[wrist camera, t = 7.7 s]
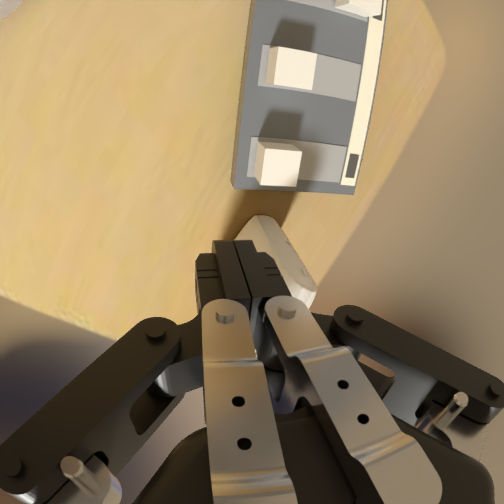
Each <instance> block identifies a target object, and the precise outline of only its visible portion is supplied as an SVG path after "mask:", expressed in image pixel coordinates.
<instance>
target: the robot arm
mask: <svg viewBox="0 0 504 504" xmlns="http://www.w3.org/2000/svg"><path fill="white" fill-rule="evenodd" d="M195 293H196V302H197V310H198V315H197V316H196V317H195V318H194V319H193V320H191V321H189V322H187V323H184V324H181V325H177V324H176V323H174V322H173V321H171V320H169V319H167V318H162V317H151V318H147V319H144V320H142V321H140V322H139V323H138V324H136V325H135V326H134V327H133V328H132V329H131V330H130V331H128V332H127V333H126V334H125V335H124V336H123V337H121V338H120V339H119V340H118V341H117V342H116V343H114V344H113V345H112V346H111V347H110V348H109V349H108V350H107V351H105V352H104V353H103V354H102V355H101V356H100V357H98V358H97V359H96V360H95V361H94V362H93V363H92V364H90V365H89V366H88V367H87V368H86V369H85V370H84V371H82V372H81V373H80V374H79V375H78V376H77V377H76V378H74V380H72V381H71V382H70V383H69V384H68V385H67V386H65V387H64V388H63V389H62V390H61V391H60V392H59V393H58V394H56V395H55V396H54V397H53V398H52V399H51V400H50V401H49V402H48V403H46V404H45V405H44V406H43V407H42V408H41V409H40V410H39V411H37V412H36V413H35V414H34V415H33V416H32V417H31V418H30V419H29V420H28V421H27V422H25V423H24V424H23V425H22V426H21V427H20V428H19V429H18V430H17V431H16V432H14V433H13V434H12V435H11V436H10V437H9V438H8V439H7V440H6V441H5V442H4V443H2V444H1V445H0V488H2V489H3V490H4V491H6V492H7V493H9V494H10V495H12V496H13V497H15V498H16V499H17V500H18V501H19V502H21V503H23V504H119V503H120V500H121V496H122V489H121V486H120V483H119V481H118V480H117V479H116V477H115V476H116V475H117V474H118V473H119V472H120V470H121V469H122V468H123V467H124V466H125V465H126V464H127V463H128V462H129V460H130V459H131V458H132V457H133V456H134V455H135V453H136V452H137V451H138V450H139V449H140V448H141V447H142V446H143V444H144V443H145V442H146V441H147V440H148V439H149V438H150V436H151V435H152V434H153V433H154V432H155V431H156V429H157V428H158V427H159V426H160V425H161V424H162V422H163V421H164V420H165V419H166V418H167V416H168V415H169V414H170V413H171V412H172V411H173V409H174V408H175V407H176V406H177V404H178V403H179V402H180V401H181V400H182V398H183V397H184V395H185V392H189V391H191V390H194V389H197V388H199V387H202V386H203V399H204V400H203V401H204V417H205V427H204V428H202V429H200V430H197V431H195V432H193V433H192V434H190V435H188V436H187V437H186V438H185V439H183V440H182V441H181V442H180V443H179V444H178V445H177V446H176V447H175V448H174V449H173V450H172V451H171V453H170V454H169V455H168V457H167V458H166V460H165V461H164V462H163V464H162V465H161V466H160V468H159V469H158V470H157V472H156V473H155V474H154V476H153V477H152V478H151V480H150V481H149V482H148V484H147V485H146V486H145V488H144V489H143V490H142V491H141V493H140V494H139V495H138V497H137V498H136V499H135V500H134V502H133V503H132V504H495V501H494V485H493V480H492V477H491V475H490V473H489V472H488V470H487V469H486V468H485V466H484V465H483V464H482V463H480V462H479V461H480V457H481V454H482V450H483V446H484V442H485V438H486V433H487V428H488V424H489V422H490V421H491V420H492V419H493V418H494V417H495V416H496V415H497V414H498V413H499V412H500V411H501V410H502V409H503V408H504V383H503V382H502V381H501V380H499V379H498V378H496V377H494V376H493V375H490V374H489V373H487V372H485V371H483V370H481V369H479V368H477V367H475V366H473V365H471V364H469V363H467V362H465V361H463V360H461V359H460V358H458V357H456V356H454V355H452V354H450V353H448V352H446V351H444V350H442V349H440V348H438V347H436V346H434V345H432V344H430V343H428V342H427V341H425V340H423V339H420V338H419V337H417V336H415V335H413V334H411V333H409V332H407V331H405V330H403V329H401V328H399V327H397V326H395V325H394V324H392V323H390V322H388V321H386V320H384V319H382V318H380V317H378V316H376V315H374V314H372V313H370V312H368V311H366V310H364V309H362V308H360V307H357V306H354V305H344V306H340V307H338V308H337V309H336V310H335V312H334V315H333V316H328V315H322V314H315V313H312V312H310V311H309V309H308V308H307V306H306V305H305V304H304V303H303V302H302V301H301V300H299V299H297V298H294V297H292V295H291V293H290V291H289V289H288V287H287V285H286V283H285V281H284V279H283V276H282V275H281V272H280V270H279V269H278V266H277V264H276V262H275V260H274V259H273V258H272V257H271V256H270V255H268V254H267V253H266V252H257V250H256V248H255V246H254V243H253V241H252V240H233V241H232V240H213V243H212V253H202V254H200V255H199V256H198V258H197V260H196V261H195ZM255 350H256V353H257V357H256V353H255ZM361 353H362V354H364V355H365V356H367V357H369V358H371V359H373V360H375V361H377V362H378V363H380V364H382V365H384V366H386V367H388V368H389V369H391V370H392V371H393V372H394V373H395V376H393V377H387V376H385V375H383V374H381V373H379V372H377V371H375V370H373V369H372V368H370V367H368V366H366V365H364V364H362V363H361V362H359V361H358V359H359V357H360V355H361Z"/></svg>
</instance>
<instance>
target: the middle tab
mask: <svg viewBox="0 0 504 504" xmlns="http://www.w3.org/2000/svg"><path fill="white" fill-rule="evenodd" d="M316 59H317V54H316V53H312V52H307V51H302V50H296V49H291V48H285V47H279V46H278V47H273V48H270V49H269V57H268V64H267V72H266V80H265V83H268V84H273V85H281V86H288V87H295V88H301V89H307V90H312V86H313V79H314V73H315V66H316Z"/></svg>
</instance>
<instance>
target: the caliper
mask: <svg viewBox="0 0 504 504" xmlns="http://www.w3.org/2000/svg"><path fill="white" fill-rule="evenodd" d="M22 2H23V0H0V19H2V18H6V17H7V16H8V15H9V14H10V13H11V12H12V11H13V10H15V9H16V8H17V7H18V6H19V5H20V4H21V3H22Z"/></svg>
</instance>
